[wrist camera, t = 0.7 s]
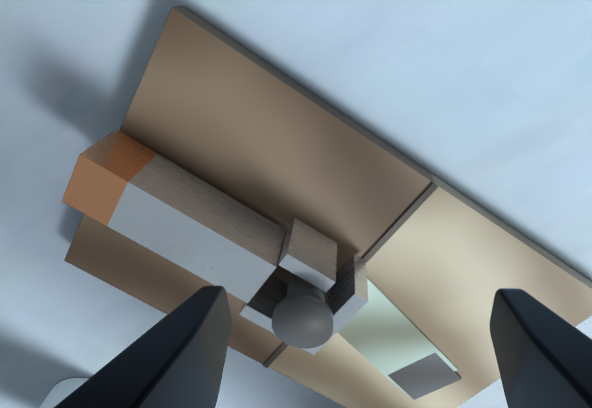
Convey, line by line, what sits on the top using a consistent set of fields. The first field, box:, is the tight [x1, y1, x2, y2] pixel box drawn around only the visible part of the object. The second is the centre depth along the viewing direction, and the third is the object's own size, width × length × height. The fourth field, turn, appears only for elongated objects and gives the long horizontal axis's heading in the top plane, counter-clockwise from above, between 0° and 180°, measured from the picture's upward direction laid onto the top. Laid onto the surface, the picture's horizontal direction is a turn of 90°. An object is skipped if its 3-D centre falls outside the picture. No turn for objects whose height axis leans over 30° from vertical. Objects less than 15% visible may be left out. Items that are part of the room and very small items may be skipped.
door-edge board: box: [64, 6, 592, 408], centre depth 20 cm, size 15×24×6 cm, turn 58°
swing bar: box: [62, 130, 368, 355], centre depth 19 cm, size 13×4×3 cm, turn 58°
